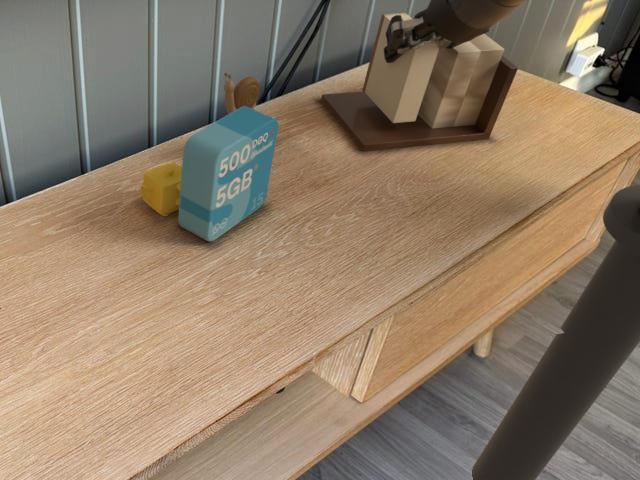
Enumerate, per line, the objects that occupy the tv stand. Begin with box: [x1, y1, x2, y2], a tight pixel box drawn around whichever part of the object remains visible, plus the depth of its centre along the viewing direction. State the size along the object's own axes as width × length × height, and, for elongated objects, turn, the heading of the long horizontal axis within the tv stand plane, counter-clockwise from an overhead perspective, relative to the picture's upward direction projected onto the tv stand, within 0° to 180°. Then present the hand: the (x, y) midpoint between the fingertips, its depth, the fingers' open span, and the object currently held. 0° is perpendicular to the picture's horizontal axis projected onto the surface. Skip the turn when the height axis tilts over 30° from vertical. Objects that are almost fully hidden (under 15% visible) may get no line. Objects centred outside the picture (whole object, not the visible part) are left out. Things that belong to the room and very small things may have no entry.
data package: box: [177, 106, 279, 243], centre depth 82 cm, size 12×4×12 cm, turn 139°
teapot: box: [138, 161, 182, 217], centre depth 85 cm, size 8×6×5 cm
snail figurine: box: [223, 71, 261, 115], centre depth 93 cm, size 5×6×12 cm
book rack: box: [320, 33, 519, 152], centre depth 101 cm, size 20×15×12 cm
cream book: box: [362, 12, 439, 123], centre depth 99 cm, size 4×10×11 cm, turn 14°
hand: (401, 54), depth 98 cm, fingers closed on cream book, 3 cm apart
